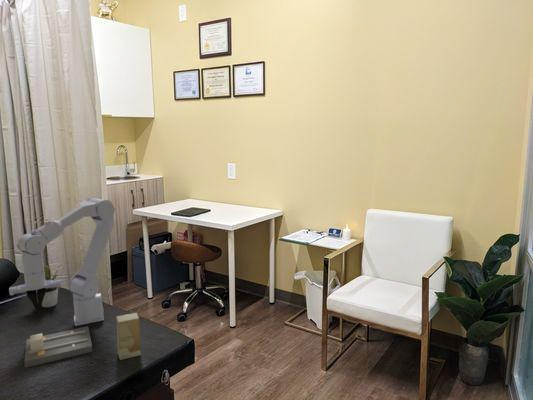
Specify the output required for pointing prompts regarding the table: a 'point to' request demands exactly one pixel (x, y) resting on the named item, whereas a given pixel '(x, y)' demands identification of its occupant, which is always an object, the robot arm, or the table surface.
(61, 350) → the panel
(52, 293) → the house plant
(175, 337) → the table surface
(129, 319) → the skincare box
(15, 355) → the table surface
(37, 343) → the block
